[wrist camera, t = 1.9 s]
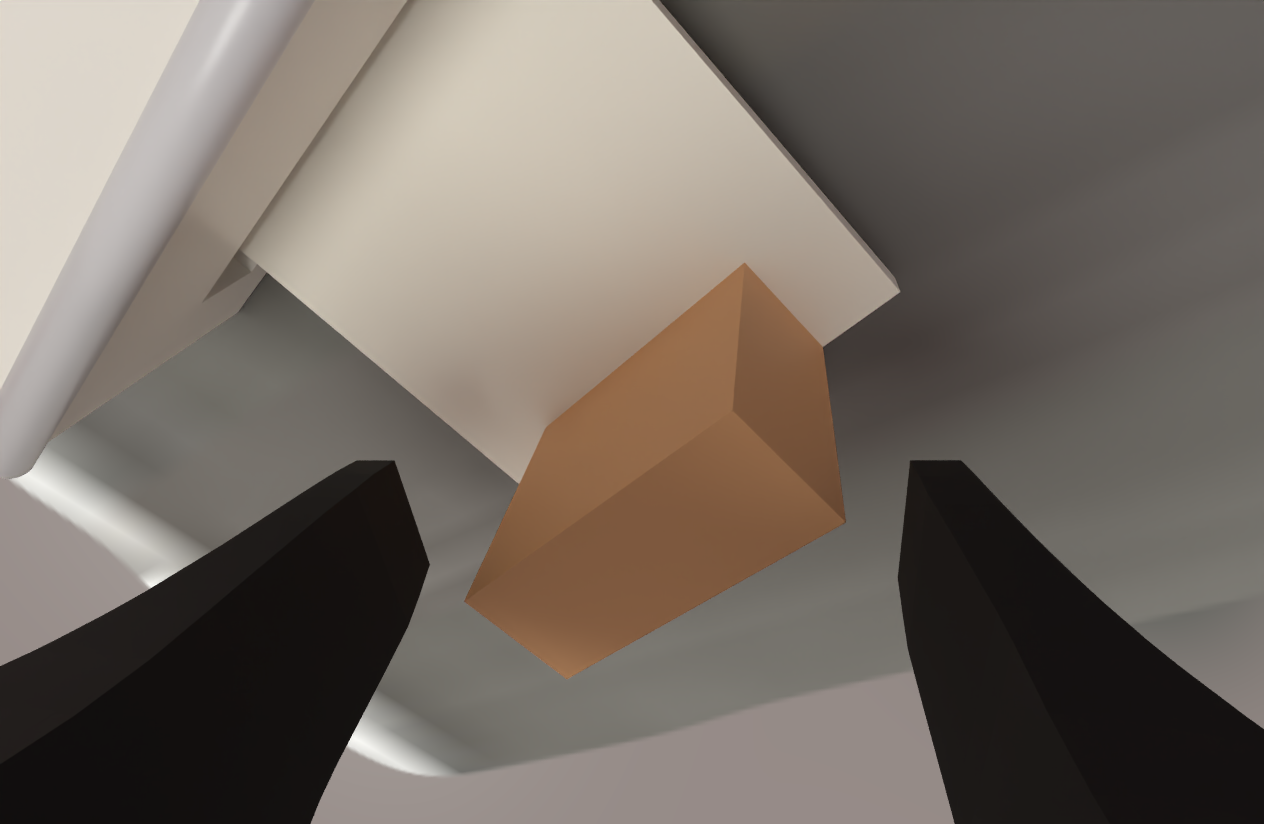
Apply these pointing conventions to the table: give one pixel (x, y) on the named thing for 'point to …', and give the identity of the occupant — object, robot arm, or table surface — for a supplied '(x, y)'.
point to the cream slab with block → (586, 300)
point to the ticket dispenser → (144, 180)
